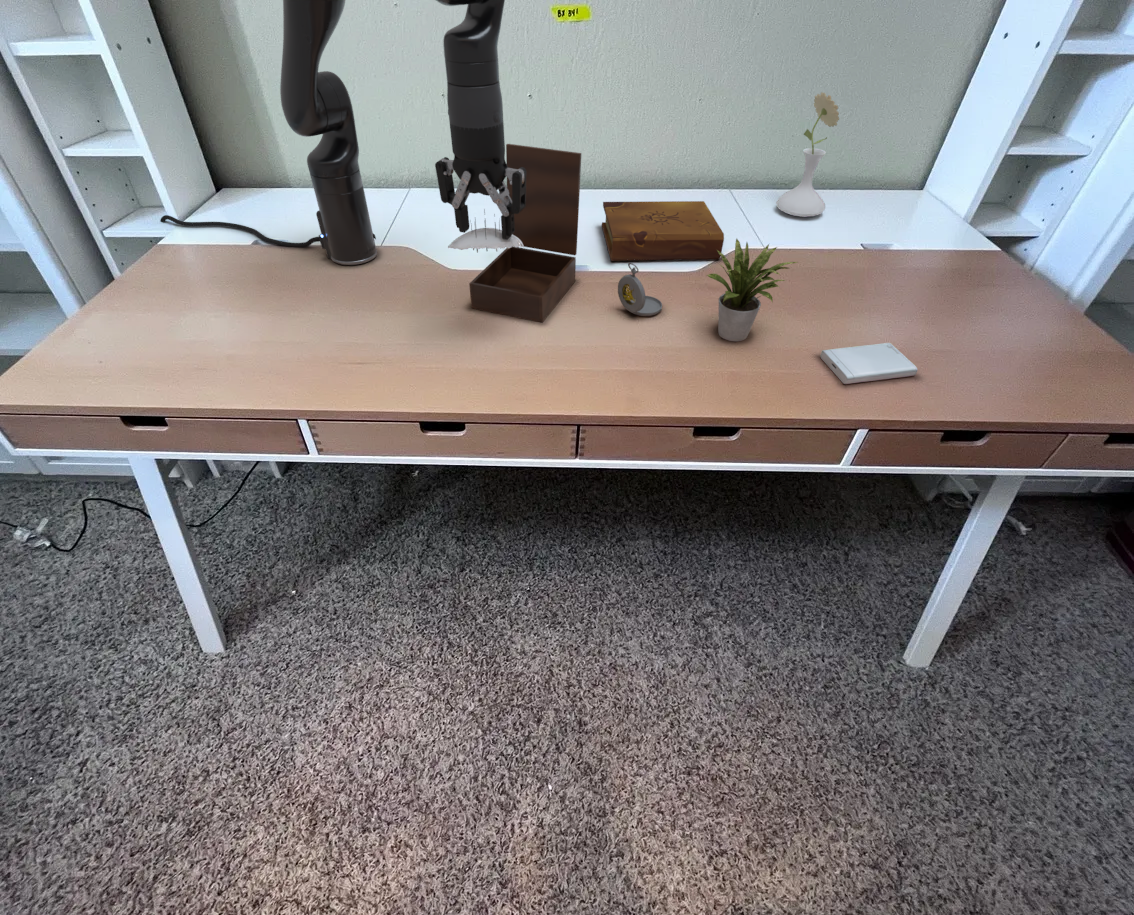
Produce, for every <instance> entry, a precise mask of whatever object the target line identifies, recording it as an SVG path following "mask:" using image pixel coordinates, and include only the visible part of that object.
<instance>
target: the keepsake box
mask: <svg viewBox="0 0 1134 915" xmlns="http://www.w3.org/2000/svg"><path fill="white" fill-rule="evenodd" d="M576 261H577V258H576V256H572V255H566V254H561V253H555V252H549V251H543V250H537V249H532V248H526V247H520V246H519V247H517V248H516V247H514V246H513V247H512V248H506V247H505V248H504V249H503V251H502V252H501V253H499V255H498V256H496V257H495V258H494V259H493V260H492V261H491V262H490V263H489V264H488V265H487V266H486V267H485V268H484V269H482V271H481V272H480V273H478V275H476V276H475V278H473V279H472V280H471V281H470V282H469V284H468V285H469V293H470V303H471V309H474V310H478V311H484V312H488V313H493V314H499V315H502V316H507V317H512V318H518V319H523V320H528V321H532V322H537V323H540V324H541V323H542V324H543V323H544V322H545V320H546V319H547V317H549V315H550V314H551V313H552V311H554V309H555V308H556V306H557V305H558V304H559V303H560V301H561V300H562V299H563V298H564V296H565V295H566V294H567V292H569V290H570V289H571V287H572V286H573V285H574V283H575V282H576V265H577V262H576Z"/></svg>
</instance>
